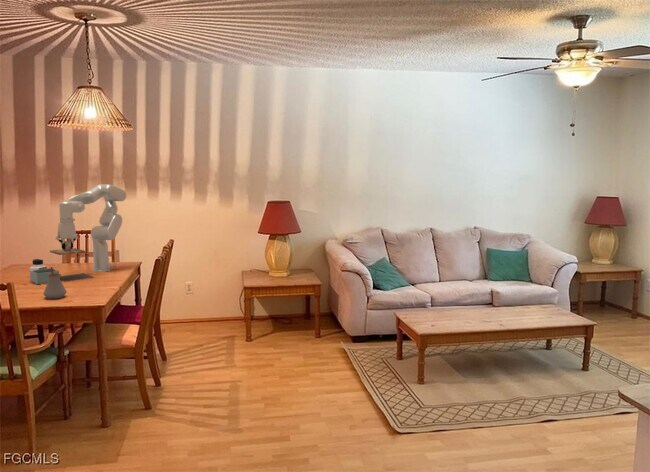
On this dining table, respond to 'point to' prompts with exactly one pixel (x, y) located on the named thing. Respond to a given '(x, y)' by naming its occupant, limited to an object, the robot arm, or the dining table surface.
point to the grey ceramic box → (41, 276)
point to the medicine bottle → (37, 265)
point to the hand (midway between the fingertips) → (67, 248)
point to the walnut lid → (67, 249)
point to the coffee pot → (54, 286)
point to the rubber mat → (75, 277)
